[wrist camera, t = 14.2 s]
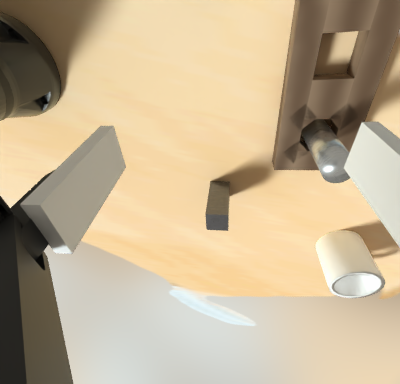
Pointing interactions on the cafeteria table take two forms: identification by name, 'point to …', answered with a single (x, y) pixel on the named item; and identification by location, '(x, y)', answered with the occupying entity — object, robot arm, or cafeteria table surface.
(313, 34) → the socket block
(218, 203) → the square bit
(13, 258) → the robot arm
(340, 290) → the mug
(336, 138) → the grey cylinder
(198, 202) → the cafeteria table surface
